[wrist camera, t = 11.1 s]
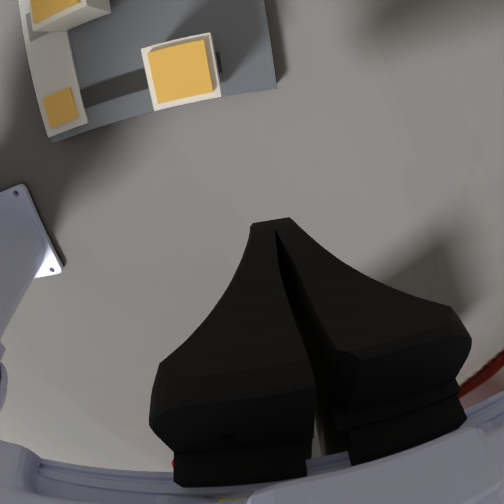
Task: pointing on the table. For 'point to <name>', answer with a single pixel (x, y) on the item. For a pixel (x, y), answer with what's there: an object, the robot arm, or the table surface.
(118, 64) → the switch unit
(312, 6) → the table surface
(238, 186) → the table surface
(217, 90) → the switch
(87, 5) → the switch mid
